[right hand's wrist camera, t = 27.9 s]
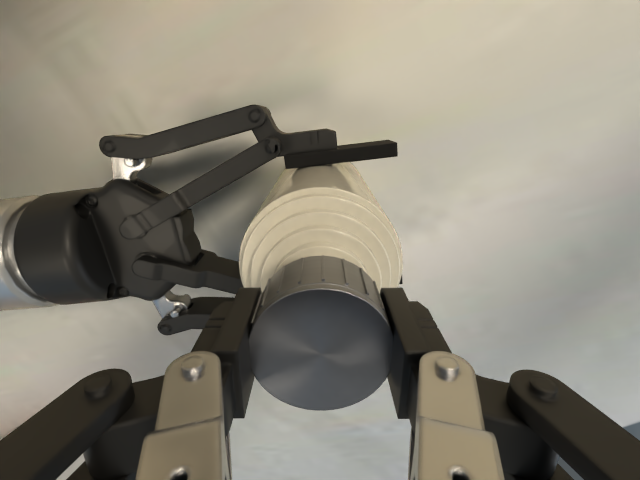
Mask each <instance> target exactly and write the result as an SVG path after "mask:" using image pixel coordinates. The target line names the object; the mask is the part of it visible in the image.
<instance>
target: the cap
mask: <svg viewBox="0 0 640 480" xmlns="http://www.w3.org/2000/svg"><path fill="white" fill-rule="evenodd" d="M251 325H252V327H251V330H250V334H249V347H250V359H251V369H252V372H253V374H254V376H255V377H256V379H257V380H258V382H259V383H260V384H261V385H262V387H264V388H265V389H266V390H267V391H268V392H269V393H270V394H271V395H273V396H274V397H276V398H277V399H279V400H281V401H283V402H285V403H287V404H289V405H292V406H295V407H298V408H303V409H309V410H334V409H339V408H344V407H347V406H350V405H353V404H355V403H357V402H360V401H361V400H363V399H365V398H367V397H368V396H369V395H371V394H372V393H373V392H375V391H376V390H377V389H378V388H379V387H380V386H381V384H382V383H383V382H384V381H385V379H386V378H387V376H388V375H389V373H390V369H391V358H392V346H393V332H392V329H391V326H390V323H389V320H388V317H387V314H386V311H385V308H384V305H383V302H382V299H381V296H380V293H379V291H378V288H377V284H376V282H375V281H373V280H372V279H371V277H370V276H369V275H368V274H367V273H366V272H365V271H364V270H363V268H360V267H358V266H357V265H355V264H353V263H351V262H349V261H347V260H345V259H343V258H342V259H341V258H337V257H332V256H324V255H322V256H309V257H305V258H301V259H298V260H295V261H293V262H291V263H289V264H287V265H285V266H282V268H281V269H280V270H279V271H277V272H276V273H275V274H274V275H273V276H272V278H271V279H270V278H269V279H268V282H267V285H266V286H265V288H264V291H263V293H262V294H260V297H259V300H258V303H257V306H256V309H255V312H254V315H253V318H252V322H251Z"/></svg>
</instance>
